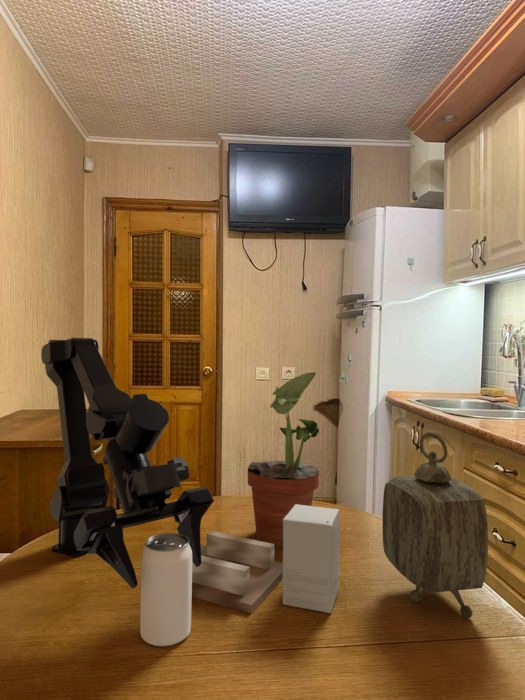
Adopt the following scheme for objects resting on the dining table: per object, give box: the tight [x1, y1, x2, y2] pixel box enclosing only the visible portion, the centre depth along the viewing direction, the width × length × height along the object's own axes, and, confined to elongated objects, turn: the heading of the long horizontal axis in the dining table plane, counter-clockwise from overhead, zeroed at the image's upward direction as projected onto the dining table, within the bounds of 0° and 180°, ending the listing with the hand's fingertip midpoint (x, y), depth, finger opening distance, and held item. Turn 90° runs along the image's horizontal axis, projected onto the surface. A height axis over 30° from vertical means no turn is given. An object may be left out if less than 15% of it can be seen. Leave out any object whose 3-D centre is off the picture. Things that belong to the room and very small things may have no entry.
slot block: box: [192, 530, 283, 615], centre depth 77 cm, size 18×14×5 cm
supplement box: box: [282, 504, 340, 614], centre depth 71 cm, size 7×7×13 cm
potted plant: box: [247, 372, 320, 547], centre depth 95 cm, size 16×15×35 cm
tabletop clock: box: [382, 431, 489, 619], centre depth 71 cm, size 14×9×25 cm, turn 12°
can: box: [139, 532, 193, 648], centre depth 62 cm, size 6×6×12 cm
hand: (168, 575), depth 61 cm, fingers open, 9 cm apart
